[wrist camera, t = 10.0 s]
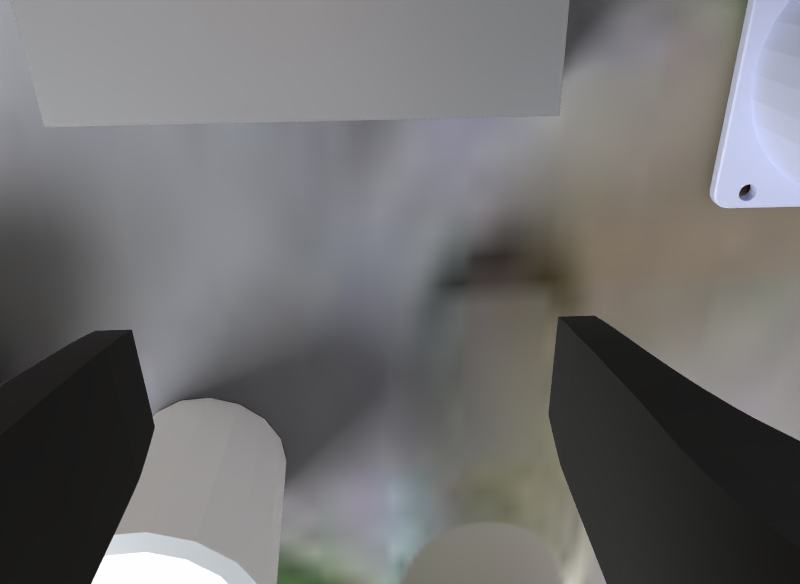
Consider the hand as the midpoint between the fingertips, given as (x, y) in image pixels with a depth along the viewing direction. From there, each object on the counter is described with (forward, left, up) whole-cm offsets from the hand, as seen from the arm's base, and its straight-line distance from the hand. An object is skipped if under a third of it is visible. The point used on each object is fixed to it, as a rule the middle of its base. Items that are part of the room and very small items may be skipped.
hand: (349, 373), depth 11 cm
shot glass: (+7, +11, -11) cm, 17 cm away
